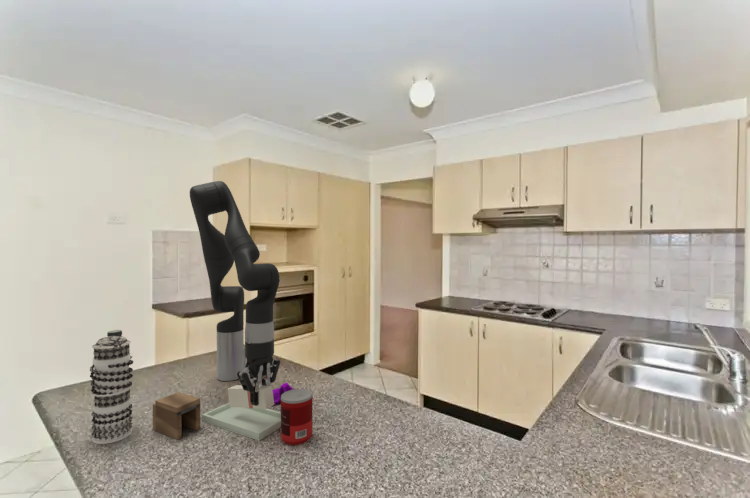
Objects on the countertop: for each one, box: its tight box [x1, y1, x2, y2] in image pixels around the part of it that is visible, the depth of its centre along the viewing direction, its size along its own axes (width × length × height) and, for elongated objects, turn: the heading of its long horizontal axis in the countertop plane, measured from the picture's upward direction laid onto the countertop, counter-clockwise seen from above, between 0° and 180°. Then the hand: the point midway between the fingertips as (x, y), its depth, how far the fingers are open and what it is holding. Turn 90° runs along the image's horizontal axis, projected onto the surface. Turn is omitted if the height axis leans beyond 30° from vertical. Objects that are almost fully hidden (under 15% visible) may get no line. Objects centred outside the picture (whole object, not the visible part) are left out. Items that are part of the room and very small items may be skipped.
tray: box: [201, 402, 281, 442], centre depth 105 cm, size 12×22×2 cm, turn 61°
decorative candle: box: [89, 335, 134, 445], centre depth 97 cm, size 9×9×25 cm
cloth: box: [272, 382, 314, 407], centre depth 120 cm, size 22×19×6 cm
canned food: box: [280, 388, 313, 446], centre depth 97 cm, size 8×8×11 cm
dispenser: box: [152, 391, 201, 440], centre depth 101 cm, size 7×10×8 cm, turn 61°
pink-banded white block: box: [227, 384, 274, 409], centre depth 104 cm, size 3×14×5 cm, turn 61°
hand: (259, 402), depth 102 cm, fingers closed on pink-banded white block, 2 cm apart
